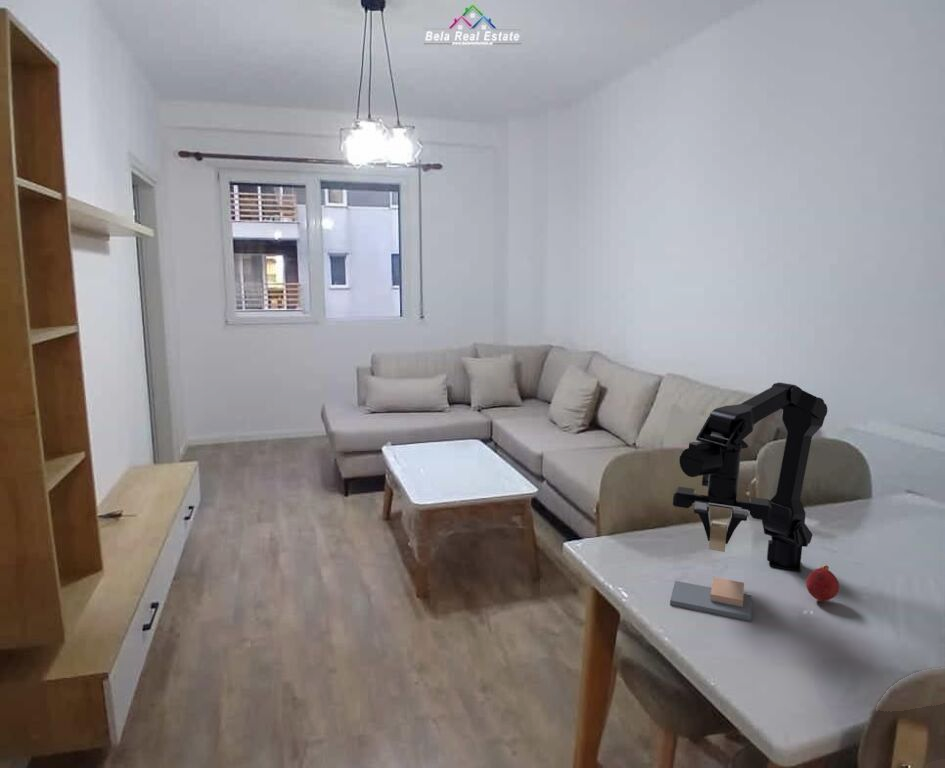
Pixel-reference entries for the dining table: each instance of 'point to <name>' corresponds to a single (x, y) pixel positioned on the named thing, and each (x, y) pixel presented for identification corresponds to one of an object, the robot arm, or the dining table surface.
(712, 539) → the curved wooden plank
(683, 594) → the mat
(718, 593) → the tile
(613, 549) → the dining table surface
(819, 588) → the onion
